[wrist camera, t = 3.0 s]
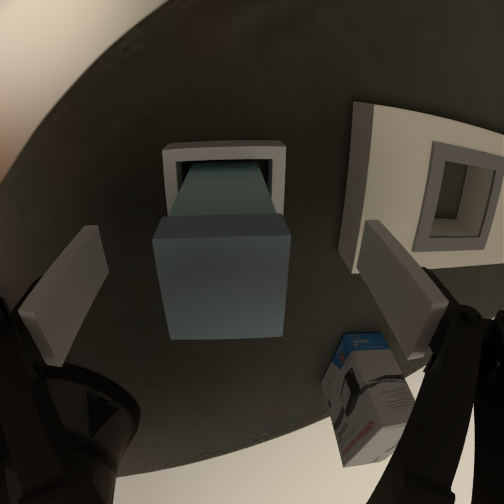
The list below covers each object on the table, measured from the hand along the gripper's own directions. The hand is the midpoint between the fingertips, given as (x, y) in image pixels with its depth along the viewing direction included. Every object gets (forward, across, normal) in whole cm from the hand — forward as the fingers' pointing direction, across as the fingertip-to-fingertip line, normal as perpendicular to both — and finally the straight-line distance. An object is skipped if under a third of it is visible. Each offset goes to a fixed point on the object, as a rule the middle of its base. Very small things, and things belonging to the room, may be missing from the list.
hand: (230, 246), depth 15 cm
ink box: (+9, +12, -19) cm, 25 cm away
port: (+9, +18, +1) cm, 20 cm away
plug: (+8, 0, 0) cm, 9 cm away
